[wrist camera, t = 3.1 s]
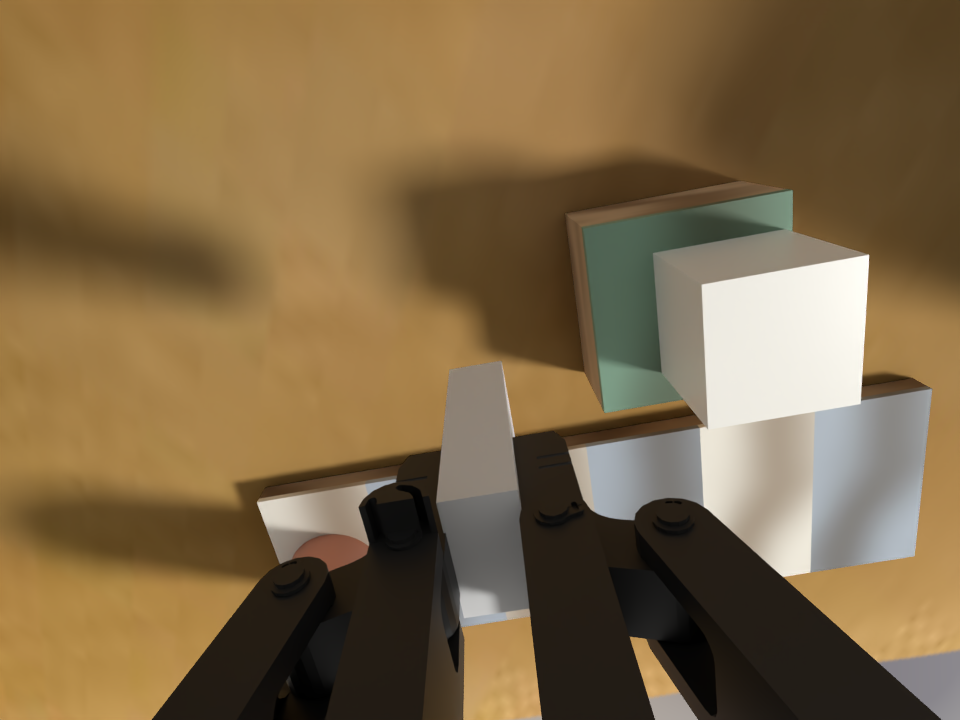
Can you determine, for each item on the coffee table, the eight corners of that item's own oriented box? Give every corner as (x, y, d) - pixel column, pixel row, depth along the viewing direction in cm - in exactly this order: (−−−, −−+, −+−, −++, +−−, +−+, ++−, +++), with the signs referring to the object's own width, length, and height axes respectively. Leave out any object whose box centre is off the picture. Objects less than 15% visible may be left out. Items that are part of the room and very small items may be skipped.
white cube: (661, 372, 22) (708, 429, 18) (652, 253, 20) (701, 284, 16) (784, 351, 22) (860, 404, 18) (784, 229, 20) (869, 254, 16)
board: (317, 631, 31) (312, 650, 30) (265, 487, 28) (257, 502, 27) (897, 540, 30) (914, 556, 29) (912, 378, 27) (932, 389, 26)
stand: (584, 373, 26) (604, 412, 22) (564, 213, 24) (583, 228, 20) (743, 345, 26) (790, 381, 22) (740, 180, 23) (792, 190, 20)
